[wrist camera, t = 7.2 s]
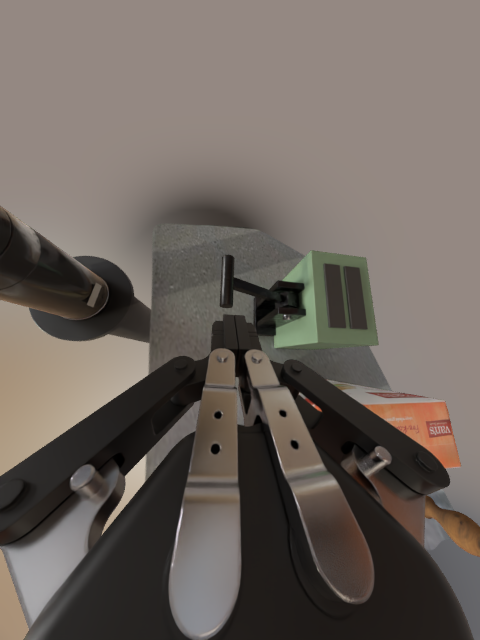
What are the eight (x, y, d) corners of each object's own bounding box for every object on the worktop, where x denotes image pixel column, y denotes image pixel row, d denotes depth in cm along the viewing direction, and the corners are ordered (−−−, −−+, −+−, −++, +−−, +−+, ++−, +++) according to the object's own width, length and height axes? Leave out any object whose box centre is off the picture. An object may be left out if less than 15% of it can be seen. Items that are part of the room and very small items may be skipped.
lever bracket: (253, 335, 36) (276, 324, 24) (253, 298, 38) (275, 270, 25) (276, 336, 37) (310, 326, 24) (275, 300, 38) (306, 273, 26)
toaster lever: (215, 307, 20) (226, 302, 18) (217, 260, 21) (228, 251, 19) (286, 323, 28) (300, 320, 26) (285, 287, 29) (298, 283, 27)
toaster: (274, 348, 36) (318, 342, 21) (273, 289, 39) (312, 248, 24) (313, 349, 37) (381, 344, 23) (310, 293, 40) (368, 256, 25)
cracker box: (317, 375, 36) (451, 399, 16) (319, 406, 35) (467, 473, 15) (252, 375, 34) (315, 402, 14) (252, 408, 33) (321, 491, 13)
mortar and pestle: (328, 464, 33) (458, 584, 16) (332, 428, 35) (455, 500, 17) (358, 471, 34) (515, 593, 16) (361, 435, 35) (507, 512, 18)
